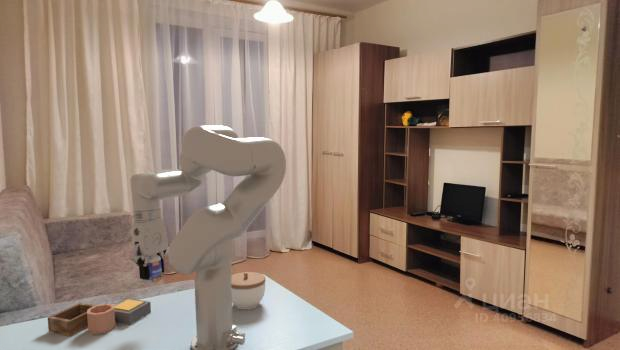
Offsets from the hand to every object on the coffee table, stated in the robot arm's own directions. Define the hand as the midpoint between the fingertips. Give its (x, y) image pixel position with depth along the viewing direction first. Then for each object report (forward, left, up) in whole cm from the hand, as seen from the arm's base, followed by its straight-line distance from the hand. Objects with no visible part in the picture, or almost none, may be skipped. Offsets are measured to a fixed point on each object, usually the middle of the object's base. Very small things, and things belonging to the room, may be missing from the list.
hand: (152, 274), depth 123 cm
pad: (+11, -1, -12) cm, 16 cm away
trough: (+21, +9, -15) cm, 28 cm away
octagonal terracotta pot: (+12, +8, -15) cm, 21 cm away
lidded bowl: (-20, -20, -15) cm, 32 cm away
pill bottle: (0, 0, -2) cm, 2 cm away
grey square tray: (+11, -1, -15) cm, 19 cm away
